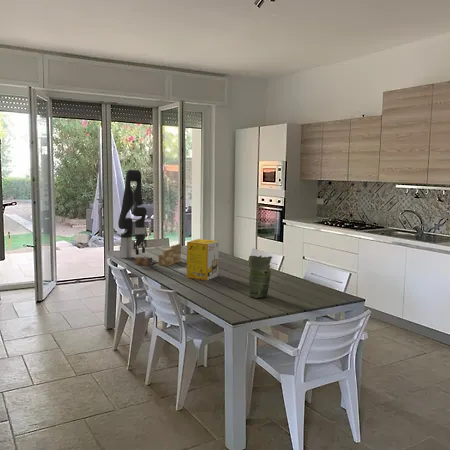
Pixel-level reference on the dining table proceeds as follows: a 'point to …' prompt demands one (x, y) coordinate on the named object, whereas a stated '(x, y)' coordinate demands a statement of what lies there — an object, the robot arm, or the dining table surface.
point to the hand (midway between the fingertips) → (140, 253)
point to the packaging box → (202, 259)
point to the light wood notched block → (170, 255)
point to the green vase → (259, 276)
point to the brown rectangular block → (143, 261)
